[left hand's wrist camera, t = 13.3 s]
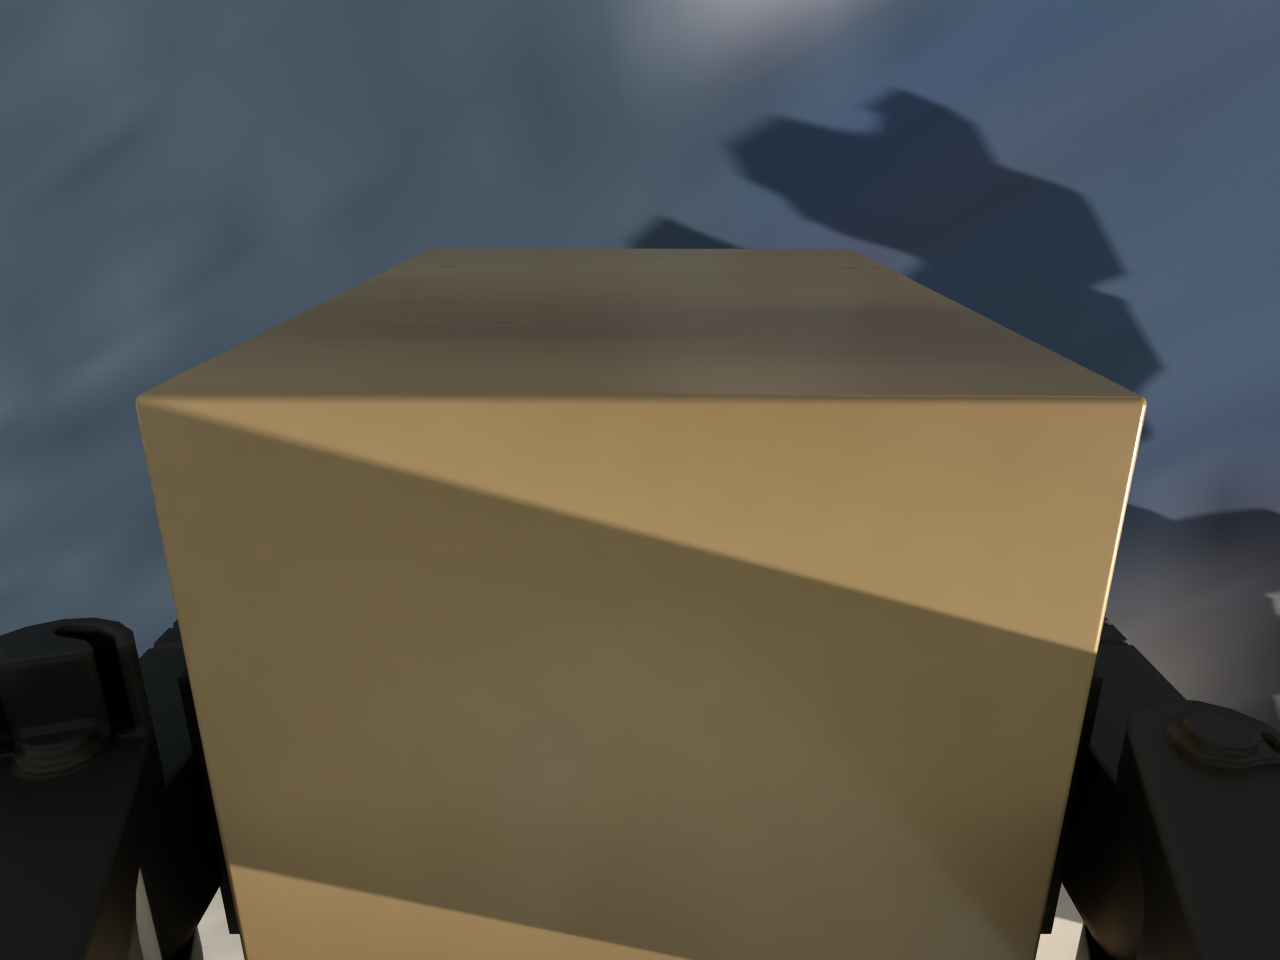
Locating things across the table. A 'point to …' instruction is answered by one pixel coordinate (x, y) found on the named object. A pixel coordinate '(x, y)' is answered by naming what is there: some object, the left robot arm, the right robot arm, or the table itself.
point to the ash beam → (640, 609)
